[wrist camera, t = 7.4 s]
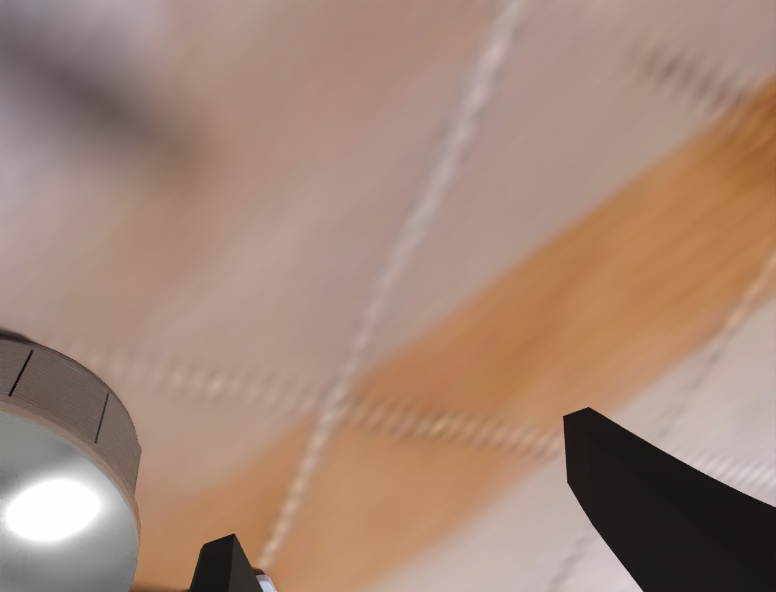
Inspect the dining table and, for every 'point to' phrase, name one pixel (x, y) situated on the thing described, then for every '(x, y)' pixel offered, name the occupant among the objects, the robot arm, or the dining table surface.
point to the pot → (70, 398)
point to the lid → (61, 508)
